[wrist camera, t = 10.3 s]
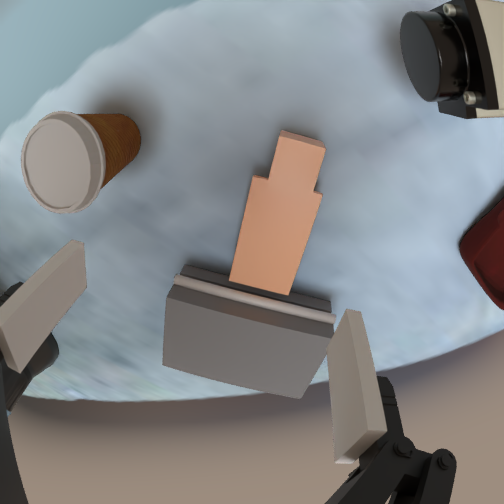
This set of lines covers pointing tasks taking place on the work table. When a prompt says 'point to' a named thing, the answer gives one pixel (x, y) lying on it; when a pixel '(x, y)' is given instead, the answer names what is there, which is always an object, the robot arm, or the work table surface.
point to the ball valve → (457, 56)
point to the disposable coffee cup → (76, 157)
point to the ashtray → (487, 253)
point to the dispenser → (245, 333)
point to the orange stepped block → (279, 216)
